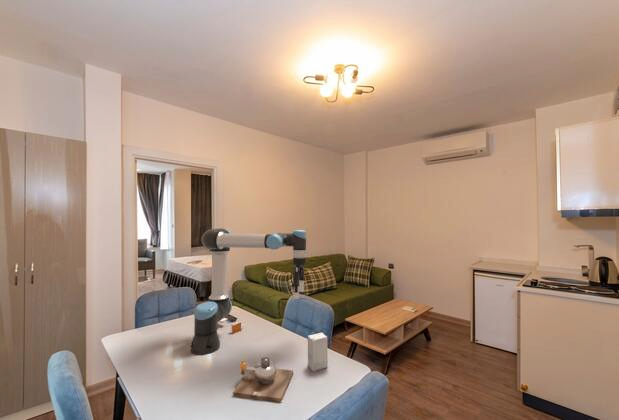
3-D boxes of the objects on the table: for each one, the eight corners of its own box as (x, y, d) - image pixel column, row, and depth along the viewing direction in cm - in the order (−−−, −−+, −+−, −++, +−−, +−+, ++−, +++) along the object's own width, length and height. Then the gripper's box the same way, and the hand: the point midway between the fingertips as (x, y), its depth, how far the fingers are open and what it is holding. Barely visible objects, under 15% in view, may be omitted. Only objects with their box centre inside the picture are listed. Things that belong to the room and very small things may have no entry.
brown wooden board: (231, 396, 110) (232, 388, 110) (251, 369, 130) (251, 362, 130) (280, 402, 106) (281, 394, 106) (293, 373, 126) (293, 366, 126)
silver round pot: (278, 371, 122) (278, 355, 122) (272, 383, 113) (272, 365, 113) (244, 367, 125) (245, 351, 125) (236, 378, 116) (236, 361, 116)
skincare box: (322, 362, 137) (322, 331, 137) (328, 368, 131) (328, 336, 132) (306, 365, 133) (307, 334, 133) (312, 372, 128) (312, 339, 128)
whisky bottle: (245, 329, 177) (216, 322, 194) (245, 319, 177) (216, 313, 195) (233, 334, 169) (204, 326, 186) (232, 324, 169) (204, 317, 186)
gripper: (301, 260, 143) (300, 301, 143) (309, 254, 168) (309, 289, 167) (287, 260, 145) (286, 300, 144) (297, 254, 169) (297, 289, 168)
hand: (299, 295), depth 155 cm, fingers open, 13 cm apart
